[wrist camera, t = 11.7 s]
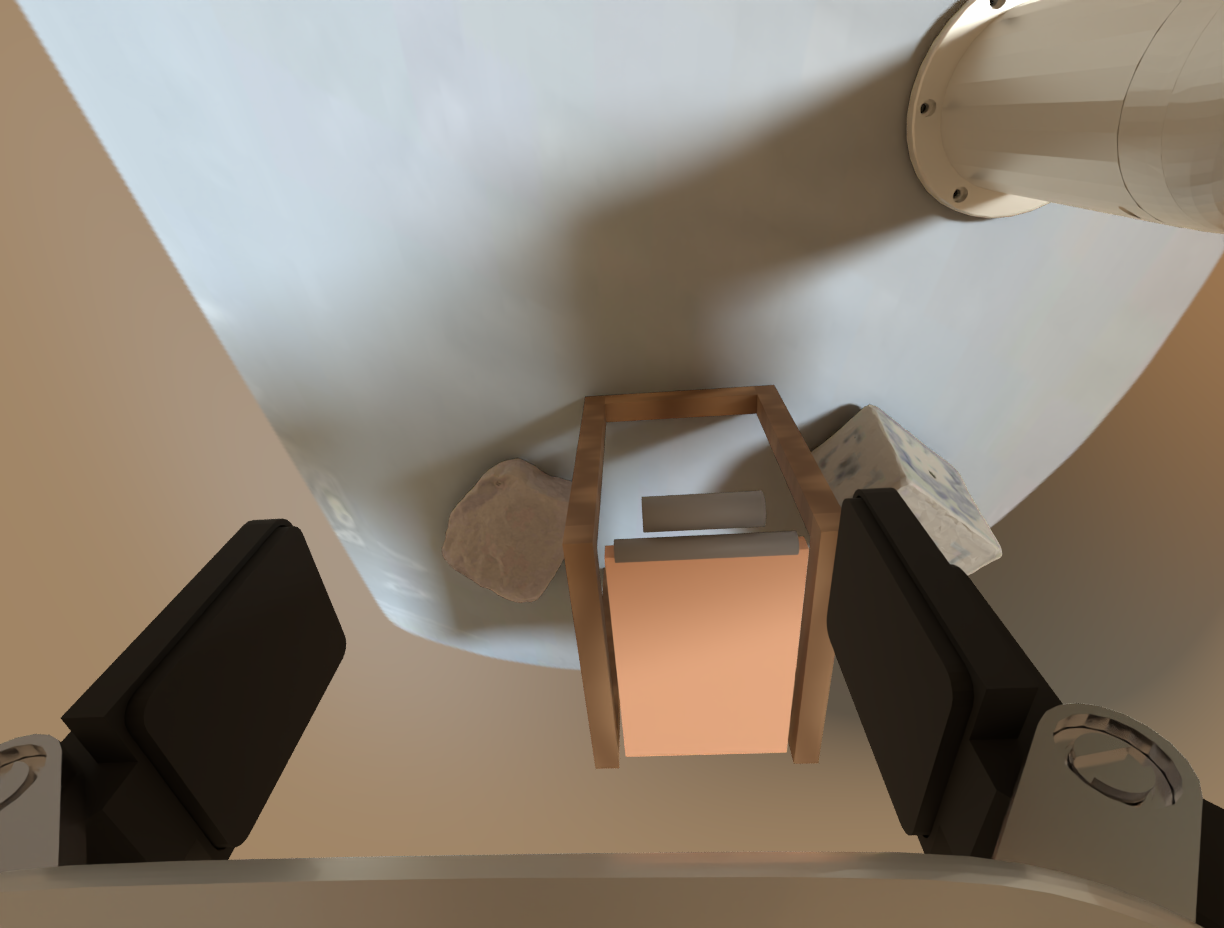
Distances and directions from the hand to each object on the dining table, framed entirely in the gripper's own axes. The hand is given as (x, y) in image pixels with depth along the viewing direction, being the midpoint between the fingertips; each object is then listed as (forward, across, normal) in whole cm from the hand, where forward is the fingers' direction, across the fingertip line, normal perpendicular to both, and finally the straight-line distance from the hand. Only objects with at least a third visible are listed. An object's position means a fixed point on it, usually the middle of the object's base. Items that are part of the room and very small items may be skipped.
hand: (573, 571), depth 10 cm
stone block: (+34, +10, +22) cm, 41 cm away
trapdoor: (+18, -4, +19) cm, 26 cm away
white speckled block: (+34, -19, +18) cm, 43 cm away
